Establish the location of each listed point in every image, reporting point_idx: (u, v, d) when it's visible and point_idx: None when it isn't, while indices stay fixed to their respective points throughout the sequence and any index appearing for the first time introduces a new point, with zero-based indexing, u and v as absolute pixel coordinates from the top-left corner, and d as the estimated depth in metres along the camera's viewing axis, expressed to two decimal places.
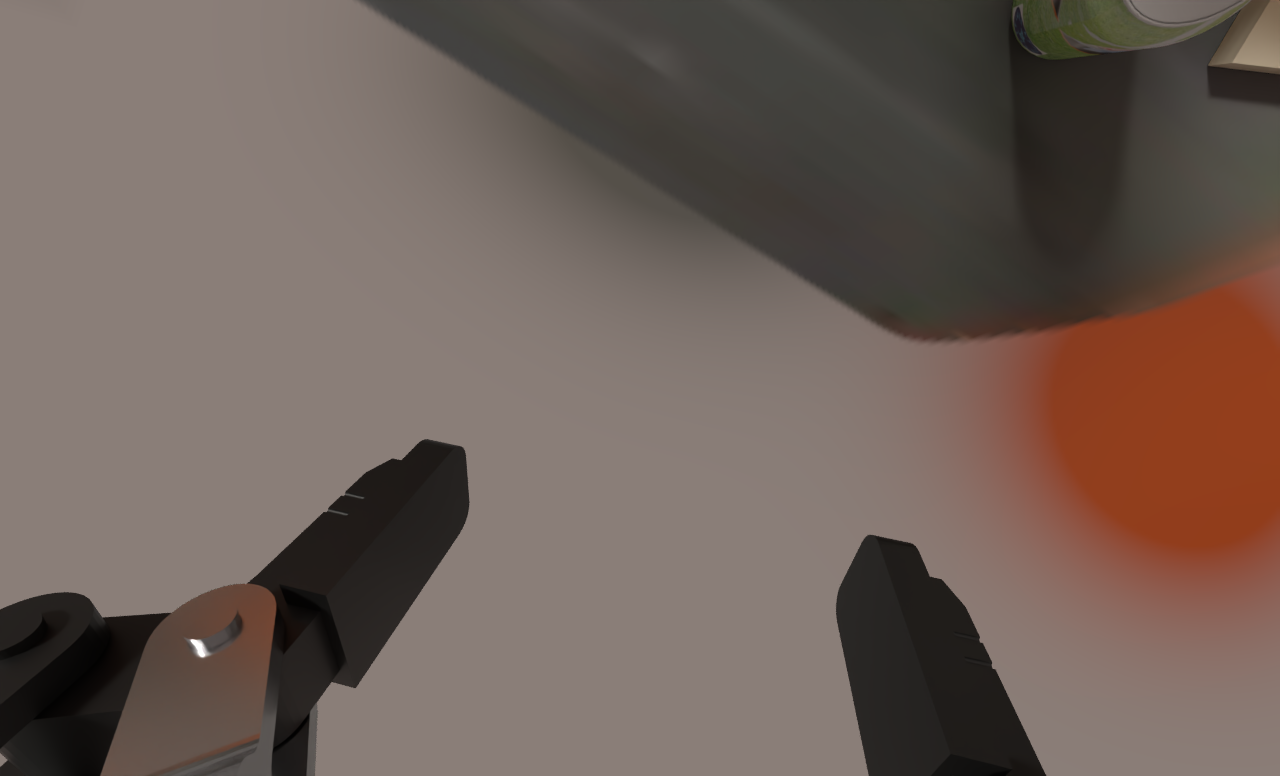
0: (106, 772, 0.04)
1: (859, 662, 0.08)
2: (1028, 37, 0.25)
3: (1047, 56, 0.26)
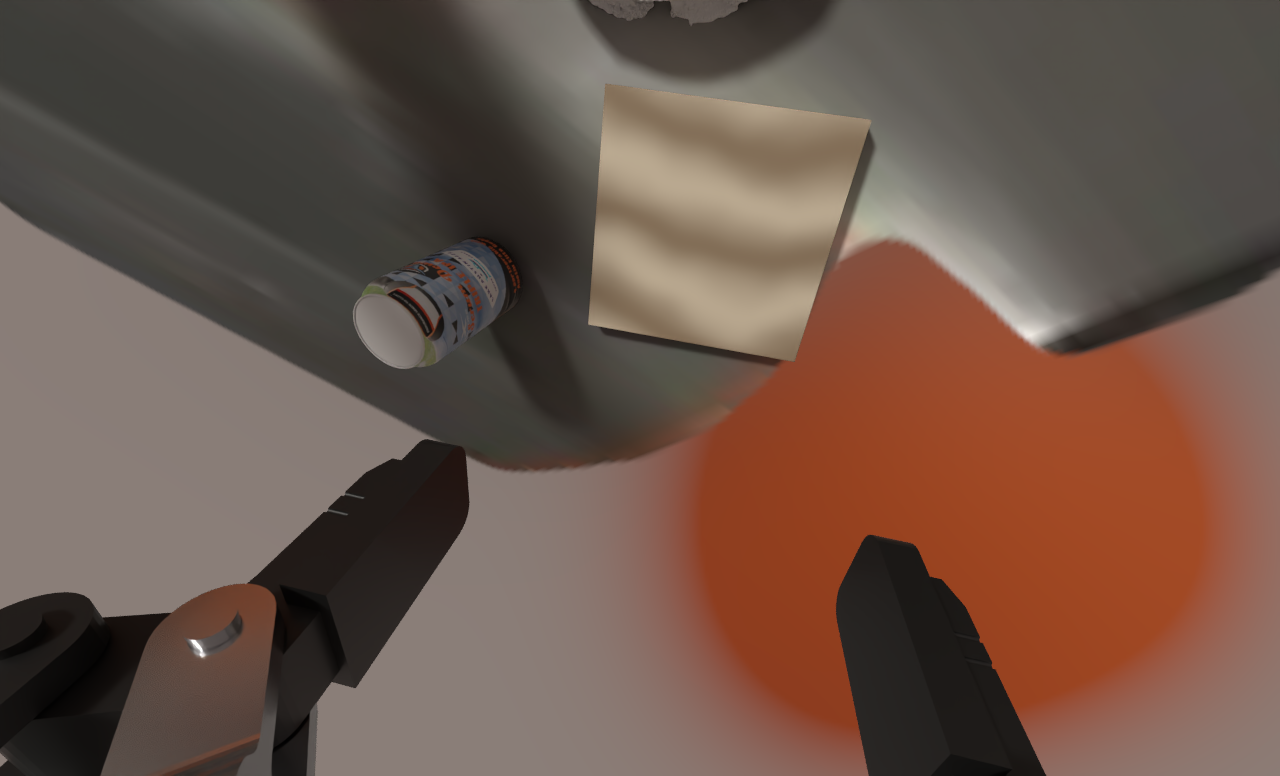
0: (106, 772, 0.04)
1: (859, 662, 0.08)
2: None
3: None
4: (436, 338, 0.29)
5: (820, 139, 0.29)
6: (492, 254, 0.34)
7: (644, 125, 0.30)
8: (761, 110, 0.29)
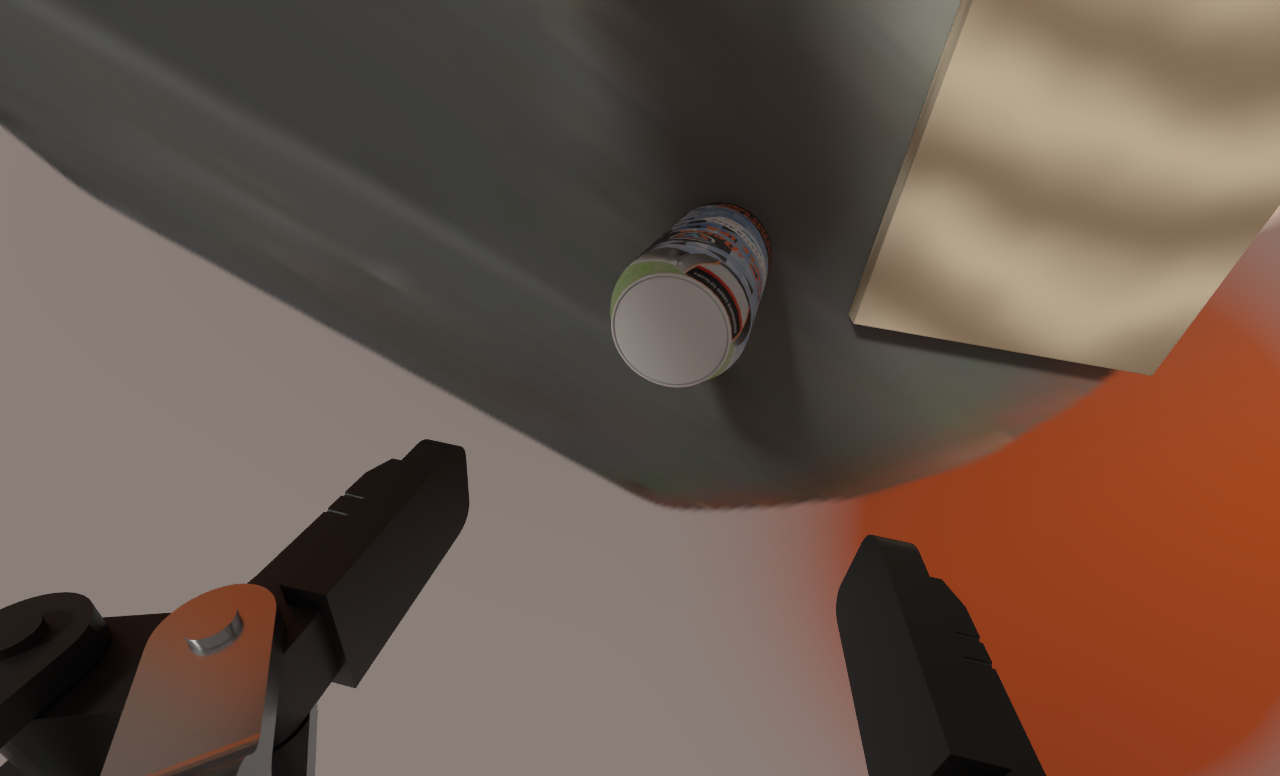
0: (106, 772, 0.04)
1: (859, 662, 0.08)
2: None
3: None
4: (740, 341, 0.19)
5: None
6: (752, 224, 0.25)
7: (1031, 28, 0.20)
8: None
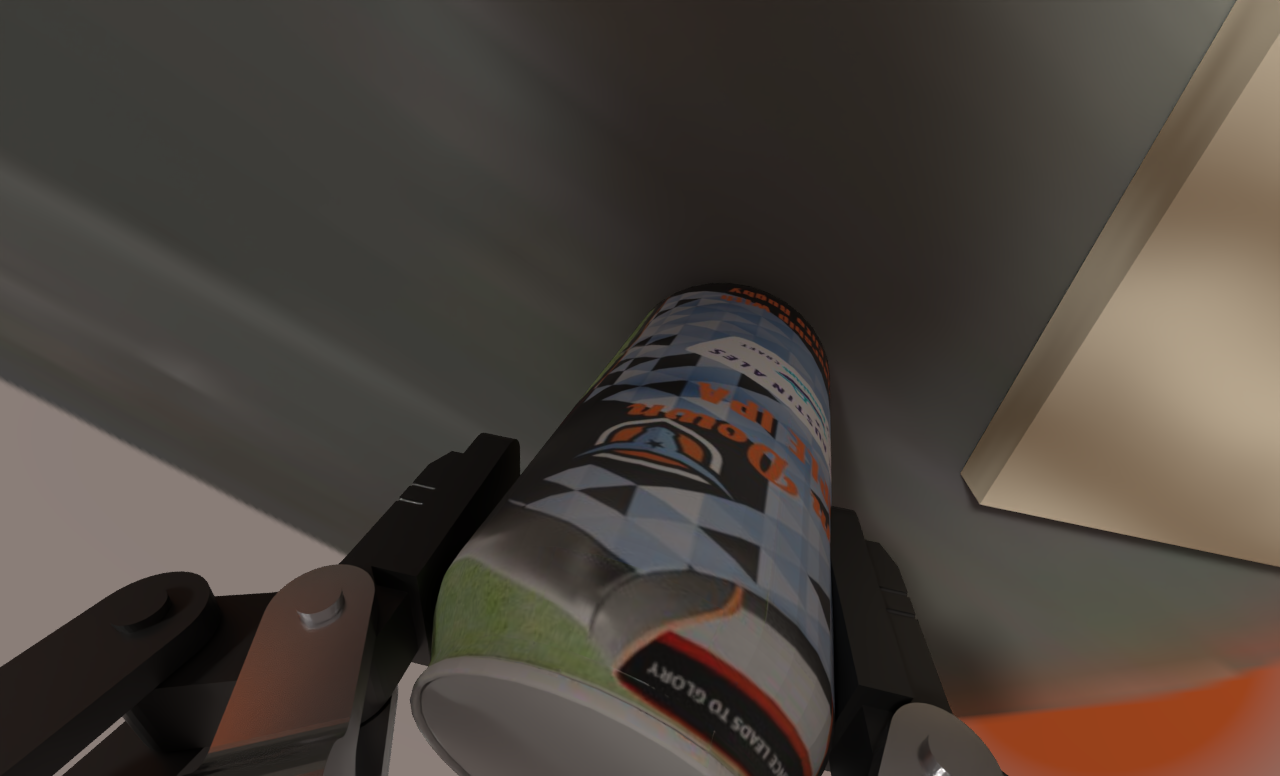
0: (223, 727, 0.05)
1: None
2: None
3: None
4: None
5: None
6: (799, 341, 0.12)
7: None
8: None
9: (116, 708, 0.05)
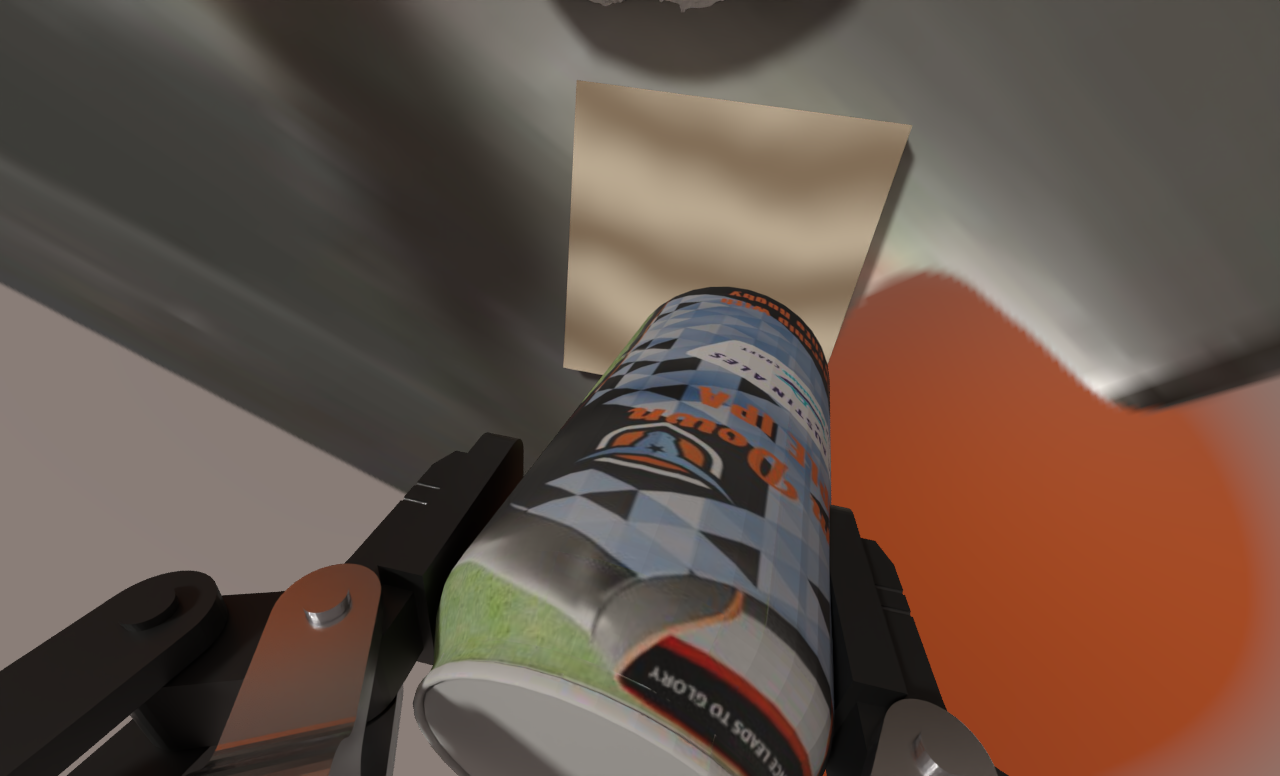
0: (230, 726, 0.05)
1: None
2: None
3: None
4: None
5: (846, 150, 0.23)
6: (799, 344, 0.12)
7: (626, 132, 0.24)
8: (772, 113, 0.23)
9: (125, 706, 0.05)
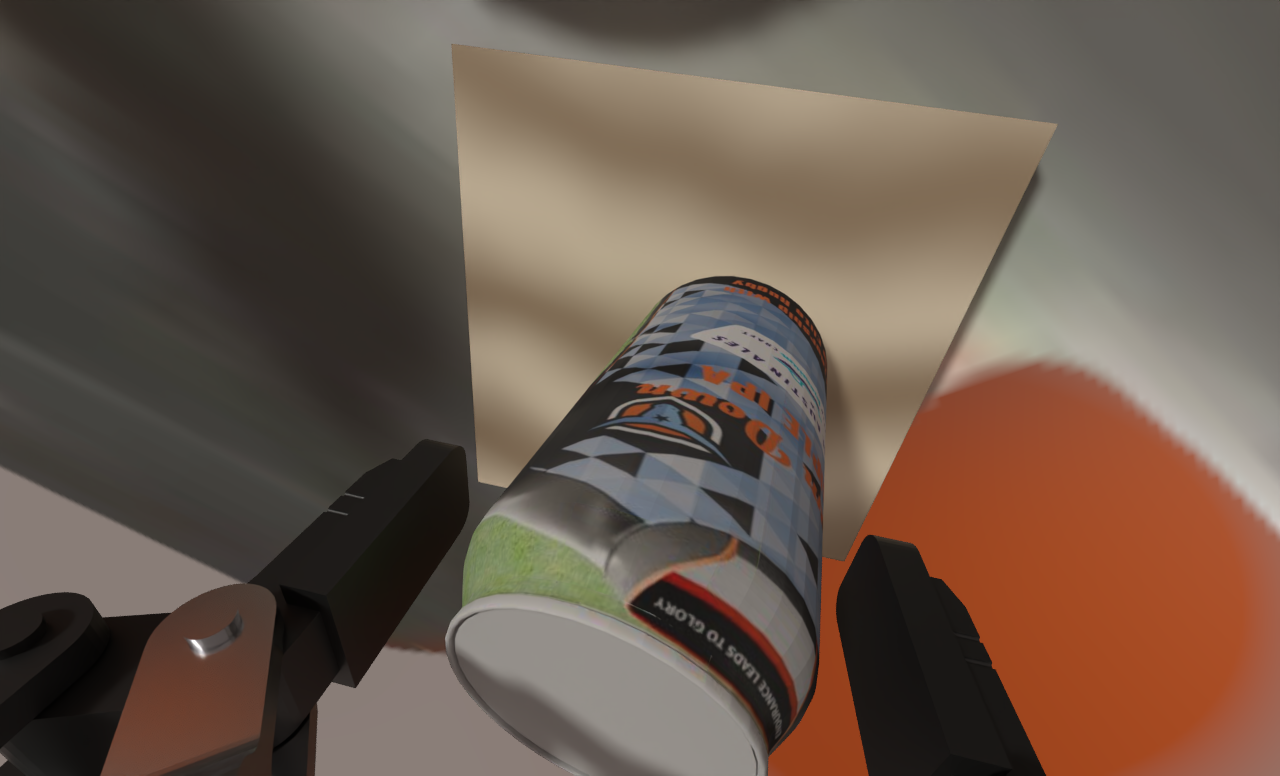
0: (106, 772, 0.04)
1: (859, 662, 0.08)
2: None
3: None
4: (788, 733, 0.07)
5: (929, 168, 0.13)
6: (797, 330, 0.12)
7: (542, 135, 0.14)
8: (797, 102, 0.13)
9: None
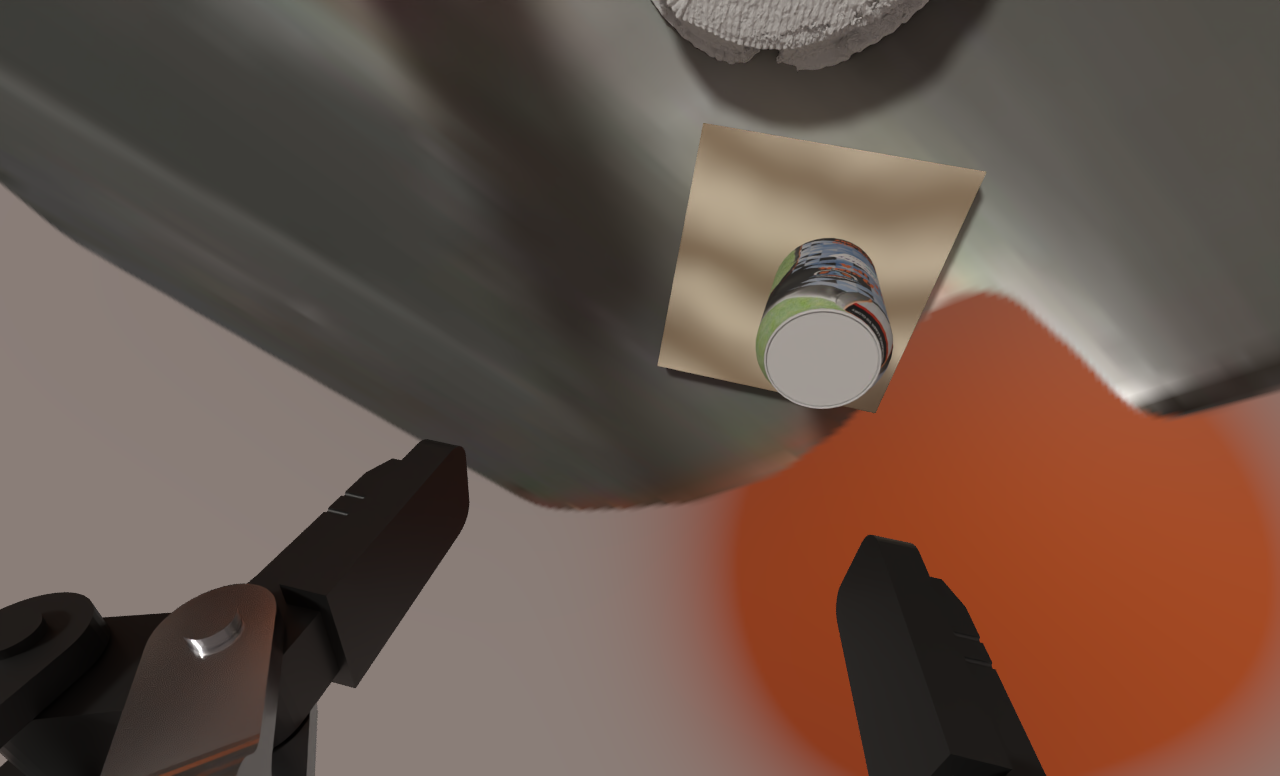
0: (106, 772, 0.04)
1: (859, 662, 0.08)
2: None
3: None
4: (883, 370, 0.21)
5: (928, 189, 0.28)
6: (868, 260, 0.27)
7: (740, 167, 0.29)
8: (868, 157, 0.27)
9: None
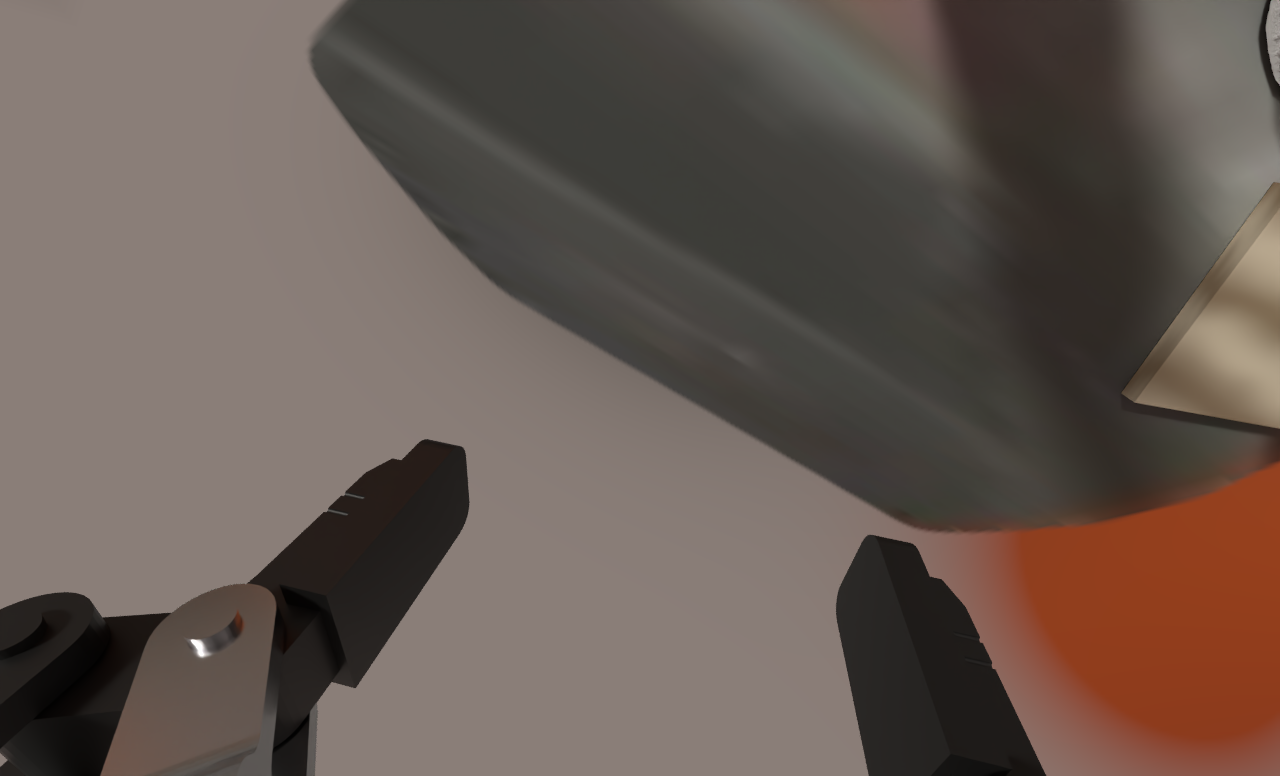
0: (106, 772, 0.04)
1: (859, 662, 0.08)
2: None
3: None
4: None
5: None
6: None
7: None
8: None
9: None
